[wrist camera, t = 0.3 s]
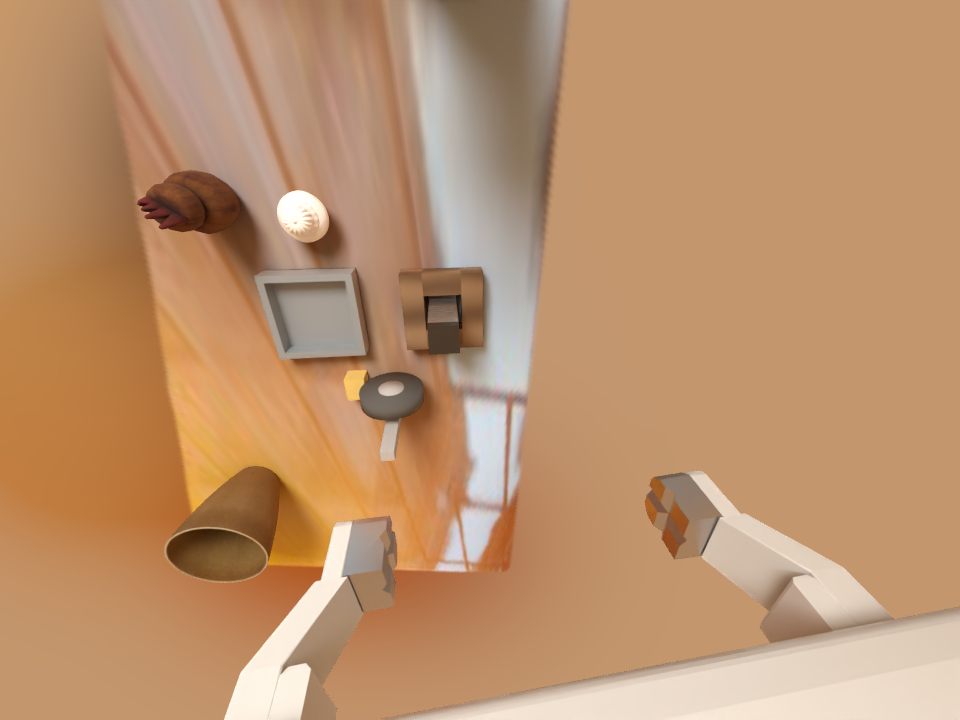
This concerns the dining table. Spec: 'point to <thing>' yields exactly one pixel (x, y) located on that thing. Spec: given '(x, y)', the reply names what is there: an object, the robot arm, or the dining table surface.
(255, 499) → the plant pot
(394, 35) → the dining table surface
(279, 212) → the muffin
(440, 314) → the pin
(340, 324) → the tray
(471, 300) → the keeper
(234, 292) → the dining table surface
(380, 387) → the grey disc with lever
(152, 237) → the dining table surface
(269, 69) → the dining table surface
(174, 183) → the wooden figurine
